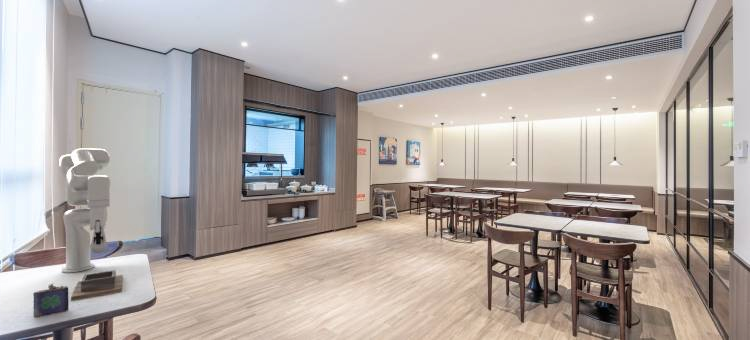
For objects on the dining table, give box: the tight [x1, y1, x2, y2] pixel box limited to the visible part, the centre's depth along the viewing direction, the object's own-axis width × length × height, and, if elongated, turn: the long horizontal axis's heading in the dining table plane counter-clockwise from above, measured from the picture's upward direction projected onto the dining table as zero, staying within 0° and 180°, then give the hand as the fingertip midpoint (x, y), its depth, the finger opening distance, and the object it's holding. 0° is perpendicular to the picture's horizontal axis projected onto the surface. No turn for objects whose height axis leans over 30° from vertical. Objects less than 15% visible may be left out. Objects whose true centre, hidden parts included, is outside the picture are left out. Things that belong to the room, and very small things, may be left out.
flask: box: [32, 283, 70, 318], centre depth 120 cm, size 9×3×11 cm, turn 129°
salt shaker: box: [90, 228, 108, 254], centre depth 145 cm, size 6×6×13 cm
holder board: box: [70, 269, 124, 302], centre depth 145 cm, size 22×16×6 cm
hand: (98, 244), depth 145 cm, fingers closed on salt shaker, 3 cm apart
